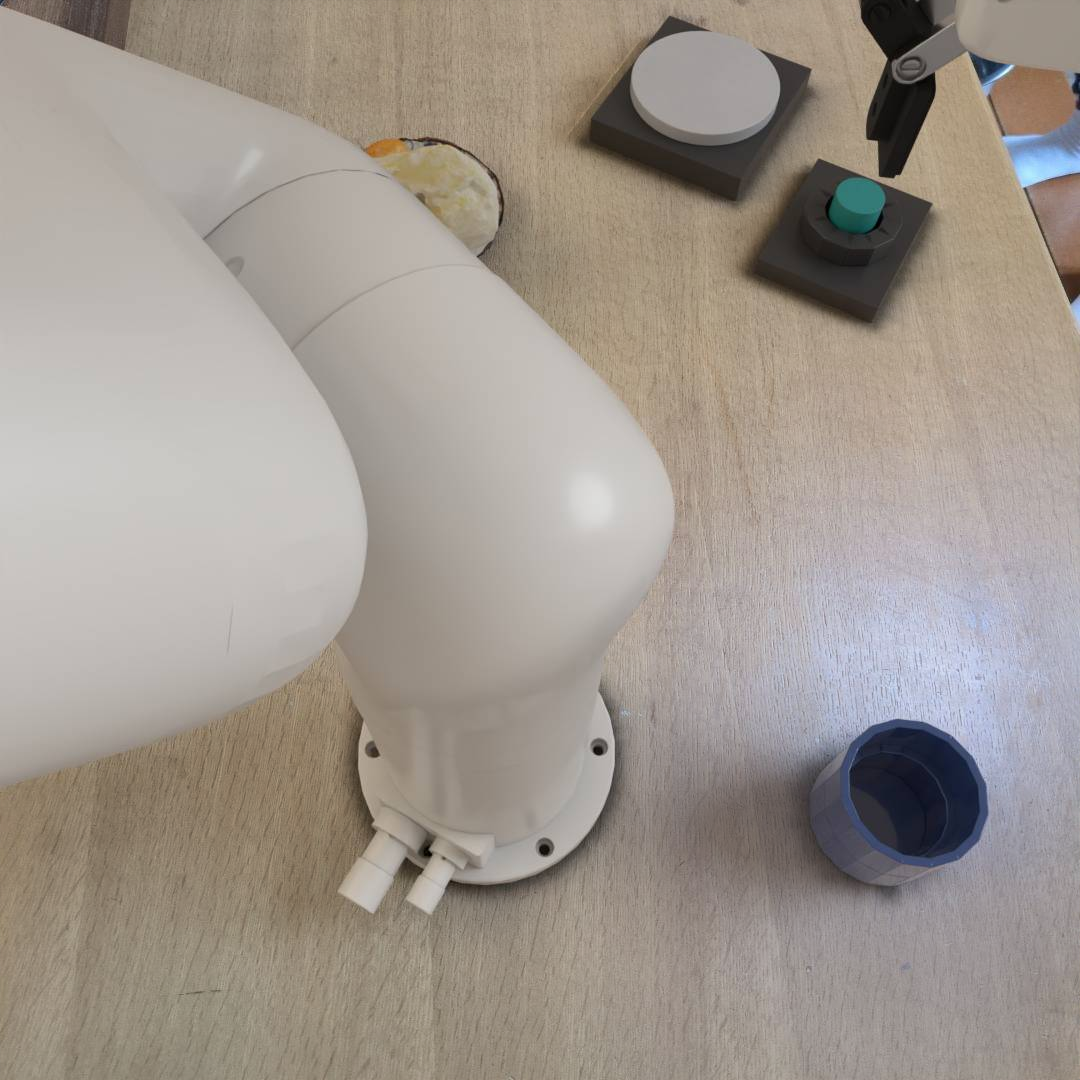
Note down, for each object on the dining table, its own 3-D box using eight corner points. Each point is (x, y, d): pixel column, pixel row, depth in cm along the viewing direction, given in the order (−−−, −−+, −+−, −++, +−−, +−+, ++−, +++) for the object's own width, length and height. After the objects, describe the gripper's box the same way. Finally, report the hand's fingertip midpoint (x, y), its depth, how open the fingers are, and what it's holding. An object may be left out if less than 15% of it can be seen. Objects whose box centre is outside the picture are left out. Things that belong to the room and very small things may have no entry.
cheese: (546, 301, 67) (455, 67, 63) (541, 312, 60) (438, 49, 56) (335, 387, 69) (234, 166, 65) (306, 407, 62) (192, 161, 58)
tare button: (866, 241, 63) (875, 220, 62) (821, 222, 64) (828, 202, 63) (883, 209, 65) (892, 188, 63) (839, 191, 65) (846, 170, 64)
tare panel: (871, 324, 64) (886, 292, 61) (753, 273, 66) (763, 240, 63) (925, 218, 68) (942, 184, 65) (813, 173, 70) (824, 138, 67)
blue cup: (911, 912, 48) (960, 895, 43) (786, 844, 50) (818, 819, 44) (956, 793, 51) (1007, 763, 46) (835, 731, 52) (871, 694, 47)
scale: (735, 202, 68) (744, 167, 66) (588, 142, 71) (591, 106, 68) (805, 92, 73) (815, 56, 70) (665, 39, 75) (671, 2, 73)
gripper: (973, -376, 22) (783, 213, 37) (1806, -294, 22) (1267, 270, 37) (954, -520, 26) (787, 73, 41) (1672, -453, 25) (1230, 123, 40)
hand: (1015, 166), depth 39 cm, fingers open, 9 cm apart
